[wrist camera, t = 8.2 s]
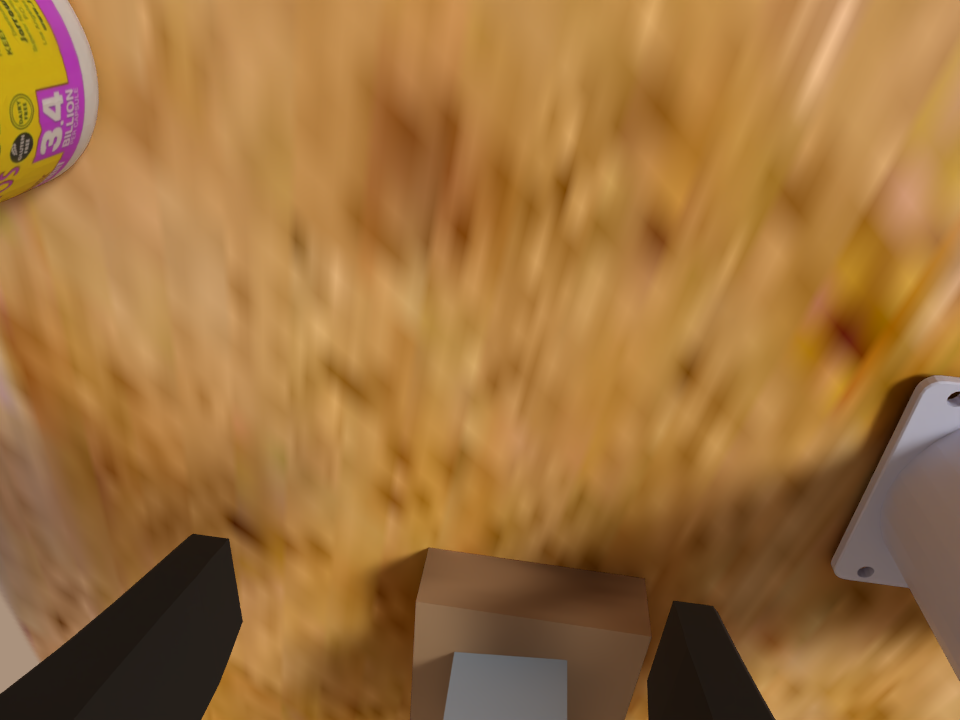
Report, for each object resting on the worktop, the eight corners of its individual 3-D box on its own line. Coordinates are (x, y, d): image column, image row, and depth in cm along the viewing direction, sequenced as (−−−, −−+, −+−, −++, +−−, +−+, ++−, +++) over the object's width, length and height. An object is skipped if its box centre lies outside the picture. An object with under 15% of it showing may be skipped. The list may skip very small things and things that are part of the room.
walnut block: (643, 567, 25) (651, 636, 23) (605, 696, 29) (608, 767, 27) (431, 537, 26) (416, 601, 23) (423, 668, 30) (409, 735, 27)
